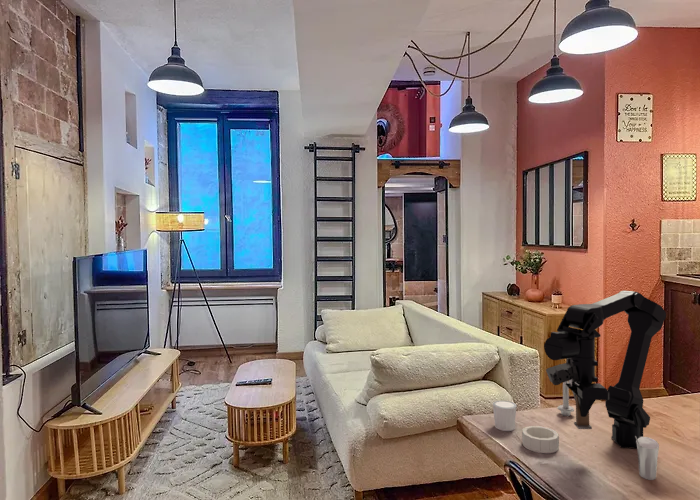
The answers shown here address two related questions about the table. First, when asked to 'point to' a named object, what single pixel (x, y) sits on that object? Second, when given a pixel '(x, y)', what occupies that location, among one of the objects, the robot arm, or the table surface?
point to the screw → (565, 402)
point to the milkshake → (647, 457)
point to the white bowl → (540, 439)
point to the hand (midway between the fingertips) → (582, 415)
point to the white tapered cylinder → (504, 415)
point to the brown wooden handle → (581, 418)
